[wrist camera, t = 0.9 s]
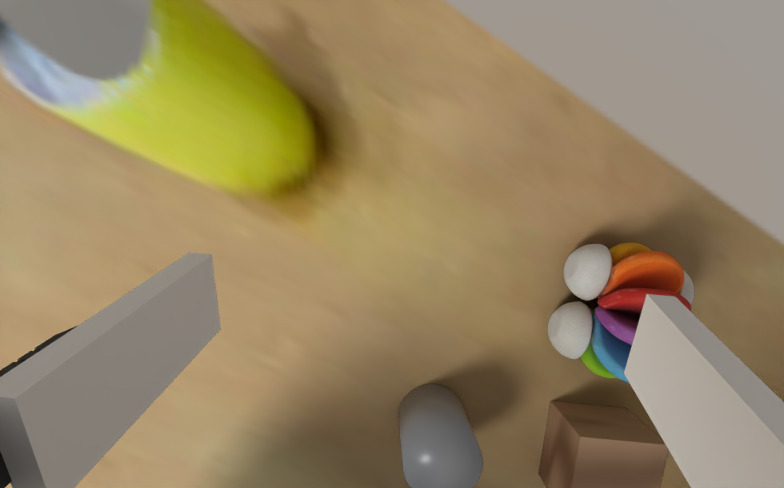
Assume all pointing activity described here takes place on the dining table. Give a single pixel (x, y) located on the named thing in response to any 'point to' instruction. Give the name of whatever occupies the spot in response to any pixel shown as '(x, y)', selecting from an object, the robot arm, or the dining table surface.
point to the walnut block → (599, 449)
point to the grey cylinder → (437, 440)
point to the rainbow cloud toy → (612, 302)
